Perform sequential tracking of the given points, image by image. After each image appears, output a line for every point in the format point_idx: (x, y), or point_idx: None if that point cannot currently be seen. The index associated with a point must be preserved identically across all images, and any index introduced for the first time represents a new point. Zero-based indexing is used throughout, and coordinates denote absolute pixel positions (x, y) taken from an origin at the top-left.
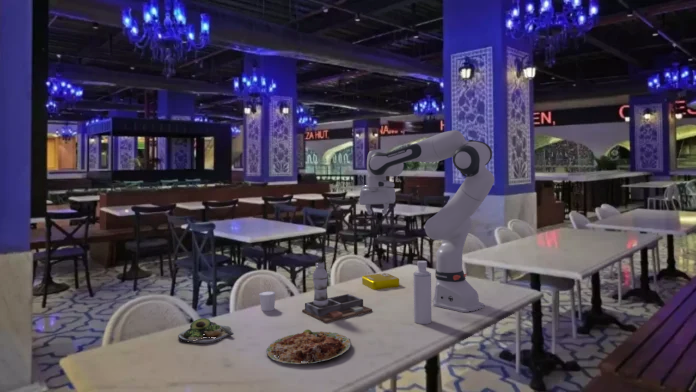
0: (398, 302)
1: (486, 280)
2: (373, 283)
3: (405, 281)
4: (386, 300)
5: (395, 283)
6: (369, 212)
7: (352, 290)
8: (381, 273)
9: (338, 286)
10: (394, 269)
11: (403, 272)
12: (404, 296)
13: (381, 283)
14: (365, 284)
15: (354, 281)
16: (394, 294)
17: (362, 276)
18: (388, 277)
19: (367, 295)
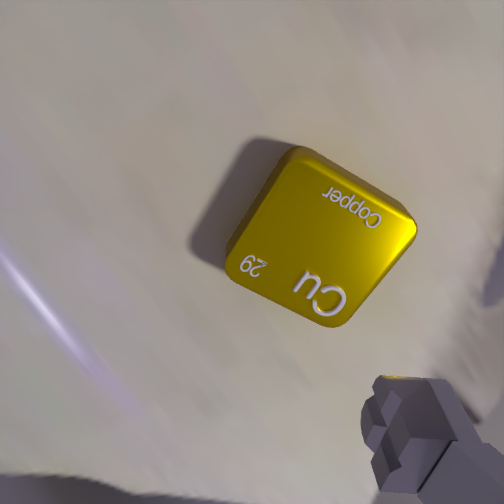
0: (58, 7)
1: (6, 467)
2: (302, 154)
3: (247, 331)
4: (129, 4)
5: (231, 243)
6: (396, 394)
7: (389, 72)
8: (345, 301)
9: (497, 98)
10: None
11: (329, 434)
12: (104, 121)
13: (271, 184)
14: (373, 187)
15: (461, 222)
16: (163, 126)
17: (414, 223)
18: (281, 266)
19: (267, 31)
